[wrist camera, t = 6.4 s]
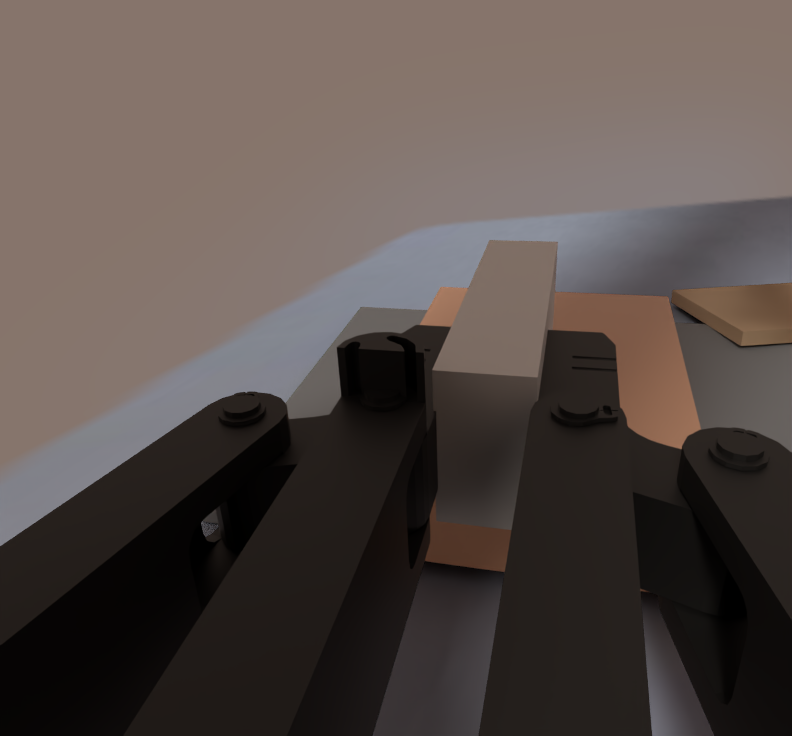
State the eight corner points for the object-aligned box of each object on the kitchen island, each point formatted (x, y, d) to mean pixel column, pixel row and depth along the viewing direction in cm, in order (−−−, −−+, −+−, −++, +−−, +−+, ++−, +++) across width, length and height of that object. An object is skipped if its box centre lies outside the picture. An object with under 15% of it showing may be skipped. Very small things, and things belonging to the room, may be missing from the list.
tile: (708, 602, 16) (661, 348, 28) (724, 524, 15) (668, 296, 27) (340, 550, 18) (441, 336, 30) (332, 480, 17) (440, 287, 29)
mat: (817, 338, 29) (820, 329, 29) (1015, 630, 16) (1022, 617, 15) (361, 314, 34) (361, 307, 34) (203, 521, 20) (201, 510, 20)
